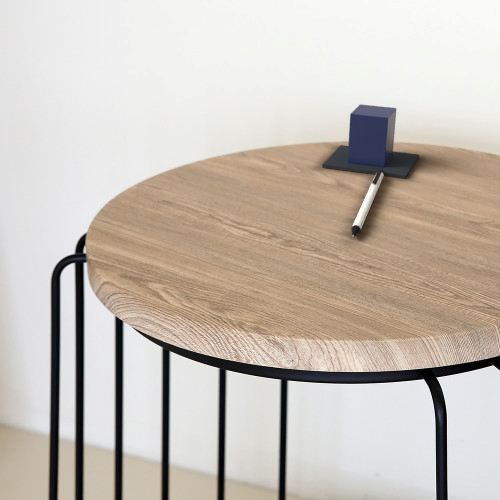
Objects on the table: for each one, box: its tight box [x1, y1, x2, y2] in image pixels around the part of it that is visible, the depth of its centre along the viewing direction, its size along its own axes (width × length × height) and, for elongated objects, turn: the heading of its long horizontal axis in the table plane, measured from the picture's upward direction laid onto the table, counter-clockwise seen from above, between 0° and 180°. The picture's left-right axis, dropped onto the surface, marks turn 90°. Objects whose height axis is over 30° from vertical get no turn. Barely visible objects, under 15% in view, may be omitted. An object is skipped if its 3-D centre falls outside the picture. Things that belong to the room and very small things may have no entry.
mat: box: [321, 144, 420, 179], centre depth 97 cm, size 10×8×1 cm
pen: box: [351, 169, 385, 238], centre depth 84 cm, size 1×19×1 cm, turn 163°
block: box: [347, 104, 397, 167], centre depth 95 cm, size 4×4×6 cm
